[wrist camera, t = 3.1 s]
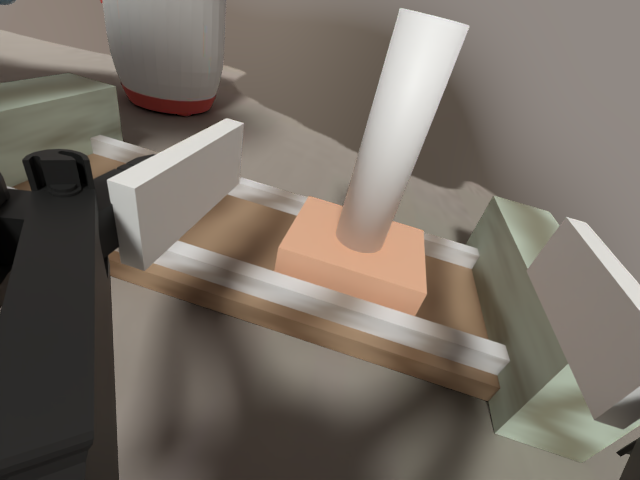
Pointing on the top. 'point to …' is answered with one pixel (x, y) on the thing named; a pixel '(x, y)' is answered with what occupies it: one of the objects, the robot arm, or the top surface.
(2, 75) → the top surface
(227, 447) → the top surface
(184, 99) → the citrus juicer
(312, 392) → the top surface
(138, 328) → the top surface
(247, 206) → the rail
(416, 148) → the carriage
